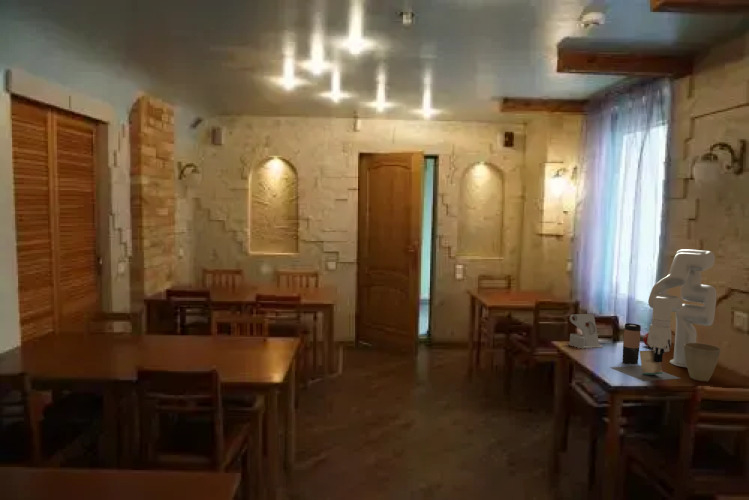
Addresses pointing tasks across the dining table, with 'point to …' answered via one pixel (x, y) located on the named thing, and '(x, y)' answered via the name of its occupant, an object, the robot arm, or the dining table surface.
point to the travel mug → (631, 343)
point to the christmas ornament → (646, 339)
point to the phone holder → (584, 332)
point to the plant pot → (701, 360)
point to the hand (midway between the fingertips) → (658, 361)
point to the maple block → (650, 363)
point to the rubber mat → (637, 373)
